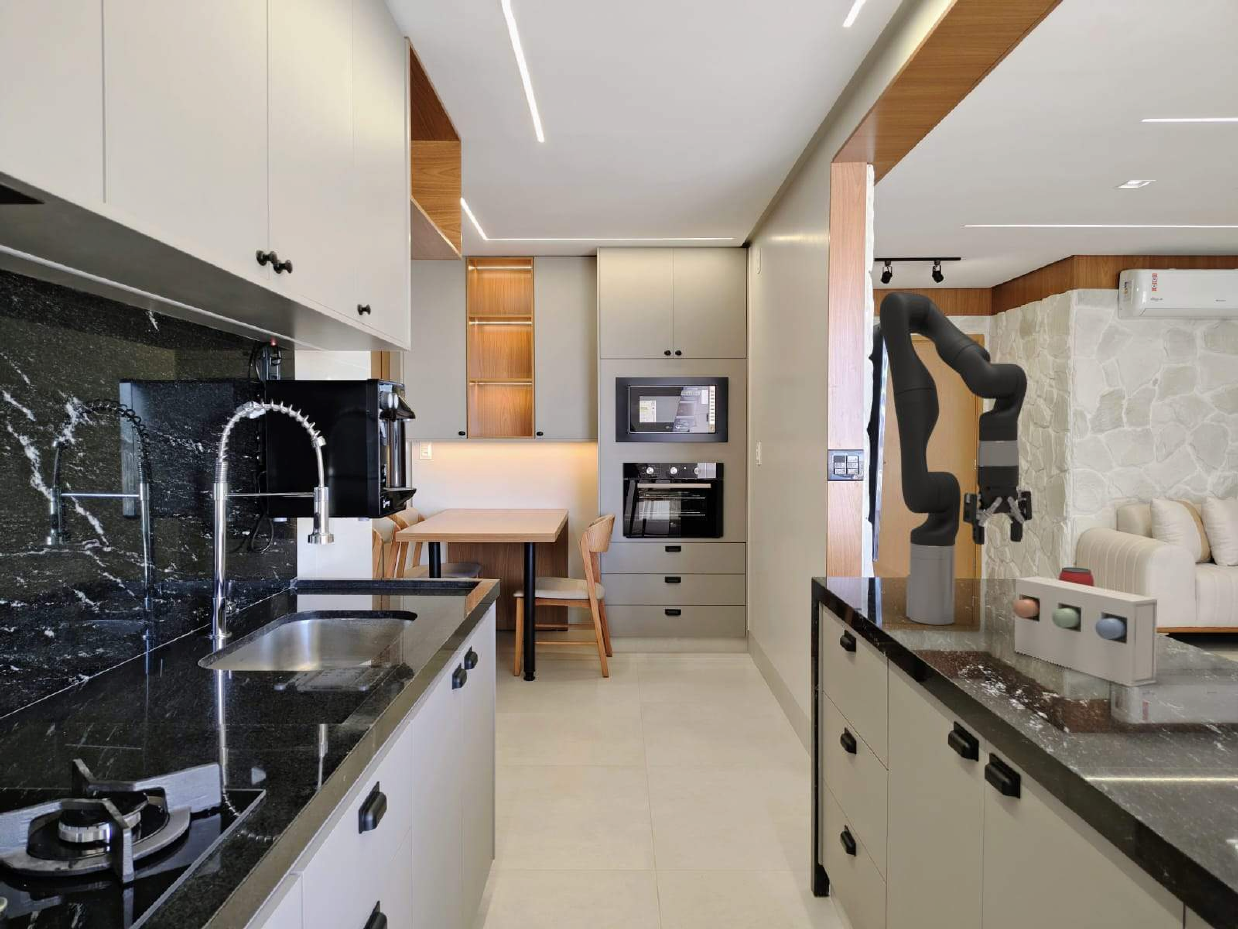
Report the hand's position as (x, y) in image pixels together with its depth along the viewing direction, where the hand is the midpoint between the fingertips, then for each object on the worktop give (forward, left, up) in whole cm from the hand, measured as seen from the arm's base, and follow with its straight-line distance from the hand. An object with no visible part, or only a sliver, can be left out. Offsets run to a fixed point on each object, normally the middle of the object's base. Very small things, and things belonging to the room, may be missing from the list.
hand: (997, 543), depth 151 cm
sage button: (+20, -5, -12) cm, 24 cm away
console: (+20, -2, -19) cm, 28 cm away
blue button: (+28, -5, -12) cm, 31 cm away
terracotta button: (+12, -5, -12) cm, 18 cm away
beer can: (-2, +26, -20) cm, 33 cm away
